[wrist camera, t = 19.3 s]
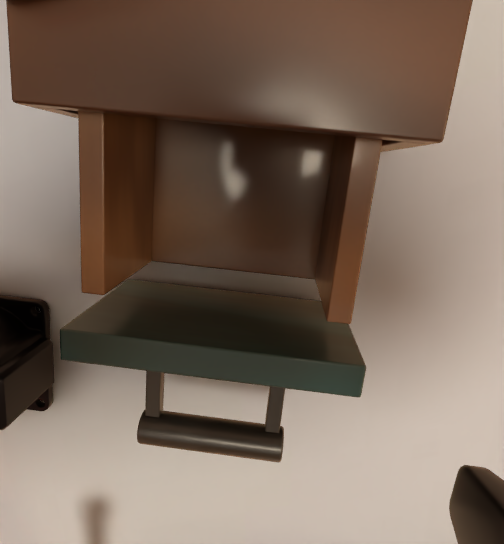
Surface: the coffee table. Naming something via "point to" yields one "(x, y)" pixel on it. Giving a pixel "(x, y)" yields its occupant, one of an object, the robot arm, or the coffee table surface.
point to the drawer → (221, 264)
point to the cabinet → (246, 62)
